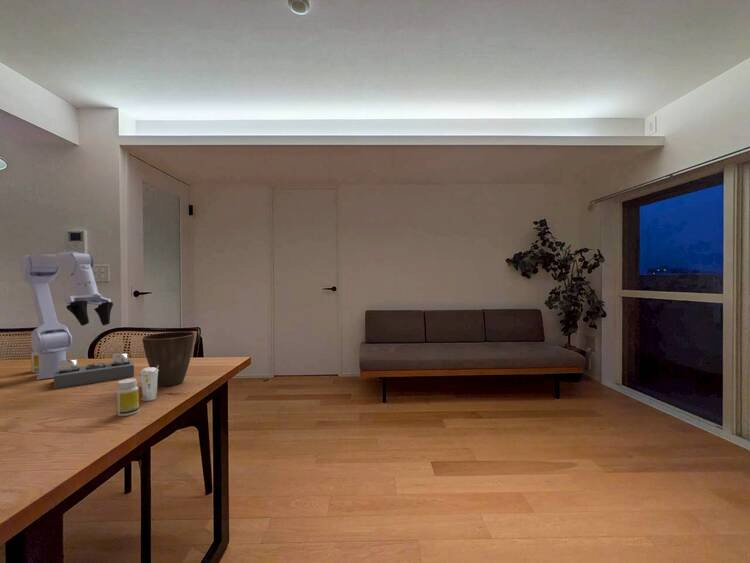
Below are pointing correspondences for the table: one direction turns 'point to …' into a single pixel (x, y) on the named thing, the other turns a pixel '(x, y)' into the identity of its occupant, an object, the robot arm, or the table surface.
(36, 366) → the supplement bottle
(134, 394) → the supplement bottle
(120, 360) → the knob
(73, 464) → the table surface
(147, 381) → the milkshake
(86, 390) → the table surface
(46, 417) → the table surface
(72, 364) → the knob
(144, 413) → the table surface
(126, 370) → the control panel
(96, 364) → the knob middle
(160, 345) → the plant pot
